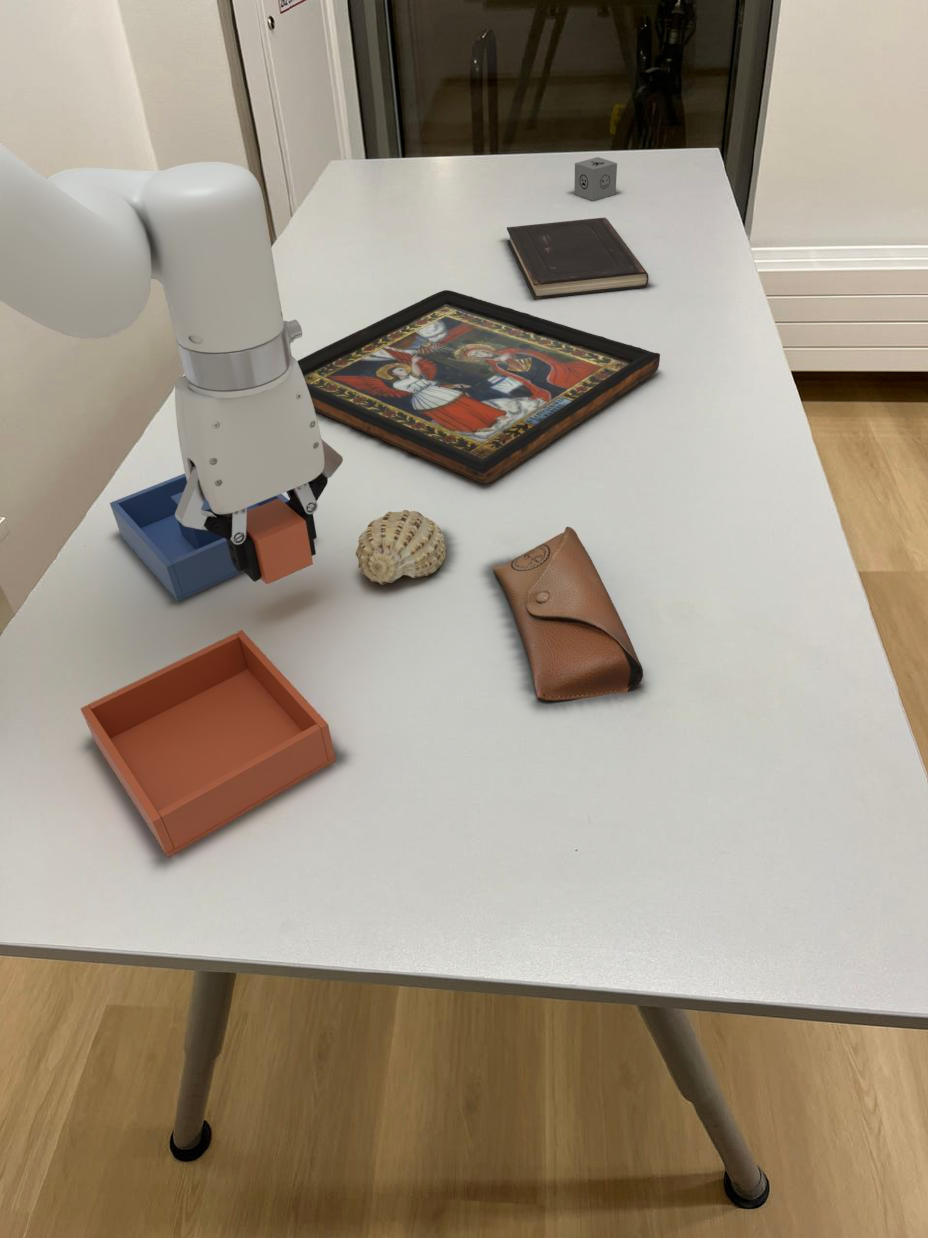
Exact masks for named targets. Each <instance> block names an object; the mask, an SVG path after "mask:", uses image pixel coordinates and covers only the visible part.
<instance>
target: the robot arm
mask: <svg viewBox="0 0 928 1238" xmlns="http://www.w3.org/2000/svg"><path fill="white" fill-rule="evenodd" d="M265 205H266V204H265V200H264V196H263V191H262V188H261V185H260V183H259V181H258V179H257V178H256V176H255V174H253V173H252V172H251V171H250V170H249V169H247V168H246V167H244V166H242V165H238V164H235V163H230V162H226V161H225V162H224V161H199V162H198V161H197V162H190V163H189V162H188V163H184V164H179V165H175V166H172V167H169V168H166V169H164V170H159V169H158V170H149V169H148V170H147V169H127V168H125V169H124V168H109V167H74V168H67V169H65V170H61V171H58V172H56V173H54V174H52V175H51V176H49V177H48V178H46V177H44V176H43V175H42V174H41V173H39V172H38V171H36V170H35V169H34V168H33V167H31V166H30V165H28V164H27V163H26V162H25V161H23V160H22V159H21V158H20V157H18V156H17V155H16V154H15V153H13V151H11V150H10V149H8V147H6V146H5V144H2V143H1V142H0V302H1V303H3V304H5V305H7V306H8V307H10V308H11V309H13V310H15V311H17V312H18V313H20V314H21V315H23V316H25V317H26V318H28V319H30V320H32V321H33V322H35V323H37V324H39V325H41V326H43V327H45V328H47V329H49V330H52V331H54V332H58V333H59V334H62V335H65V336H68V337H74V338H79V339H83V340H84V339H87V340H88V339H90V340H99V339H104V338H105V339H106V338H110V337H112V336H115V335H119V334H120V333H122V332H124V331H125V330H127V329H129V328H130V327H131V326H133V324H134V323H135V322H136V321H138V319H139V318H140V316H141V315H142V313H143V312H144V310H145V309H146V306H147V304H148V301H149V298H150V295H151V288H152V287H151V284H152V280H156V281H158V282H159V283H160V284H161V285H162V289H163V292H164V296H165V301H166V304H167V305H166V306H167V309H168V312H169V317H170V320H171V321H170V322H171V325H172V329H173V334H174V337H175V341H176V344H177V349H178V352H179V358H180V361H181V365H182V369H183V374H184V375H183V376H181V377H179V378H177V379H176V380H175V383H174V405H175V417H176V427H177V436H178V442H179V448H180V455H181V460H182V466H183V470H184V473H185V475H186V479H187V484H186V487H185V489H184V492H183V495H182V497H181V500H180V502H179V505H178V507H177V510H176V512H175V517H176V519H177V520H178V521H179V522H180V523H181V524H182V525H183V526H185V527H190V528H195V529H200V530H202V529H203V530H208V531H209V532H211V533H213V534H216V535H218V536H221V537H223V538H226V540H227V544H228V548H229V552H230V557H231V560H232V563H233V565H234V567H235V568H236V569H237V570H238V571H239V572H241V571H244V572H243V573H245V574H246V575H247V576H248V577H249V579H251V581H253V582H258V581H259V580H261V578H260V577H261V572H260V567H259V563H258V558H257V554H256V549H255V545H254V542H253V540H252V539H251V538H250V537H249V536H248V535H247V532H246V526H247V507H249V506H252V505H254V504H257V503H259V502H262V501H264V500H267V499H269V498H272V497H274V496H276V495H279V494H284V493H286V495H287V496H288V498H289V499H288V500H289V501H287V502H285V503H286V504H287V505H288V506H289V507H290V508H291V509H292V510H294V511H295V512H296V513H297V514H298V515H299V516H301V517H302V518H303V519H304V520H305V521H306V526H307V532H308V538H309V543H310V549H311V555H312V557H314V556H315V555H316V554H317V552H316V546H315V540H316V539H317V538H318V537H317V531H316V529H317V528H316V523H315V519H314V514H315V513H316V511H317V510H318V507H319V504H318V501H319V499H320V497H321V495H322V494H323V492H324V490H325V488H326V487H327V485H328V483H329V479H330V478H332V476H333V475H334V474H335V473H336V471H337V470H338V469H339V467H340V466H342V463H343V461H344V457H343V456H342V454H340V453H339V452H338V451H337V450H335V449H334V448H333V447H332V446H331V445H329V443H327V442H326V441H325V440H324V439H322V435H321V434H322V433H321V429H320V426H319V421H318V417H317V414H316V411H315V409H314V406H313V403H312V399H311V396H310V393H309V390H308V387H307V385H306V382H305V379H304V377H303V374H302V371H301V369H300V367H299V364H298V362H297V361H298V360H297V359H296V358H295V357H294V356H293V354H292V349H291V344H292V343H294V342H295V340H296V339H301V338H302V337H303V329H302V327H301V323H300V322H299V321H298V320H297V319H293V320H289V321H288V320H284V315H283V311H282V310H283V309H282V303H281V297H280V291H279V285H278V281H277V279H278V278H277V274H276V267H275V261H274V255H273V248H272V245H271V244H272V243H271V242H272V241H271V236H270V231H269V225H268V219H267V212H266V211H267V210H266V207H265ZM205 499H206V500H207V501H208V502H209V505H210V508H211V510H212V511H213V512H212V511H210V510H201V509H202V506H203V504H204V501H205Z"/></svg>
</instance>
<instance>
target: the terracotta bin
mask: <svg viewBox="0 0 928 1238" xmlns="http://www.w3.org/2000/svg"><path fill="white" fill-rule="evenodd" d="M80 712H81V714H82V716H83V719H84V720H85V723H86V725H87V727H88V729H89V731H90V733H91V735H92V737H93V740H94V743H95V745H96V746H97V747H98V749H99V751H100V752H101V754H102V756H103V757H104V759H105V761H106V762H107V764H108V765H109V767H110V768H111V770H112V772H113V773H114V775H115V776H116V778H117V779H118V781H119V782H120V784H121V786H122V787H123V789H124V790H125V792H126V794H127V795H128V797H129V798H130V800H131V801H132V803H133V805H134V806H135V808H136V810H137V811H138V812H139V814H140V816H141V817H142V819H143V821H144V822H145V824H146V825H147V827H148V828H149V830H150V832H151V833H152V835H153V837H154V838H155V839H156V841H157V843H158V844H159V846H160V848H161V849H162V851H163V853H164V854H165V855H166V857H167V858H170V857H172V856H174V855H175V854H177V853H179V852H181V851H182V850H184V849H186V848H187V847H189V846H191V845H192V844H194V843H196V842H198V841H200V840H201V839H203V838H205V837H207V836H208V835H210V834H212V833H213V832H215V831H217V830H219V829H220V828H222V827H224V826H226V825H227V824H229V823H231V822H232V821H234V820H236V819H238V818H240V817H241V816H243V815H244V814H246V813H248V812H249V811H252V810H253V809H255V808H257V807H258V806H260V805H262V804H263V803H266V802H267V801H269V800H270V799H272V798H274V797H275V796H277V795H279V794H280V793H282V792H284V791H286V790H288V789H290V788H291V787H293V786H295V785H297V784H298V783H300V782H301V781H303V780H305V779H307V778H308V777H310V776H312V775H313V774H315V773H317V772H319V771H321V770H322V769H324V768H326V767H327V766H329V765H331V764H333V763H335V762H336V761H337V759H336V754H335V750H334V745H333V740H332V736H331V731H330V727H329V724H328V722H327V721H326V720H325V719H324V718H323V717H322V716H321V714H320V713H318V711H317V710H316V709H315V708H314V707H313V706H312V705H311V704H310V703H309V701H308V700H306V698H305V697H304V696H303V694H301V692H299V691H298V689H297V688H295V686H294V685H293V684H292V683H291V682H290V681H289V679H287V678H286V676H285V675H284V674H283V673H282V672H281V671H280V670H279V668H278V667H276V666H275V664H274V663H273V662H272V661H271V659H269V658H268V657H267V656H266V654H265V653H264V652H263V651H262V650H261V649H260V648H259V647H258V646H257V644H255V642H253V640H252V639H251V638H250V637H249V636H248V635H247V634H246V633H245V631H244V630H242V629H241V630H239V631H237V632H235V633H233V634H231V635H229V636H227V637H224V638H222V639H221V640H219V641H216V642H214V643H211V644H210V645H208V646H206V647H204V648H202V649H200V650H198V651H196V652H194V653H192V654H190V655H187V656H185V657H183V658H181V659H179V660H177V661H175V662H173V663H171V664H169V665H166V666H165V667H162V668H160V669H158V670H157V671H154V672H152V673H151V674H149V675H146V676H144V677H142V678H140V679H137V680H136V681H134V682H132V683H130V684H127V685H125V686H124V687H122V688H119V689H117V690H115V691H112V692H110V693H109V694H107V695H105V696H103V697H101V698H98V699H96V700H94V701H92V702H91V703H88V704H87V705H84V706H82V707H81V708H80Z"/></svg>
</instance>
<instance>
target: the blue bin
mask: <svg viewBox="0 0 928 1238" xmlns="http://www.w3.org/2000/svg"><path fill="white" fill-rule="evenodd" d="M186 484H187V479H186V475H185V472H184V473H182V474H179V475H177V476H174V477H172V478H169V479H167V480H164V481H162V482H159V483H157V484H155V485H152V486H149V487H146V488H144V489H142V490H139V491H136V492H134V493H131V494H129V495H126V496H123V497H121V498H118V499H116V500H114V501H111V502H109V506H110V508H111V511H112V514H113V517H114V520H115V522H116V524H117V528H118V531H119V533H120V536H121V538H122V539H123V540H124V541H125V542H126V544H127V545H128V546H129V547H130V548H131V549H132V550H133V551H134V553H135V554H136V555H137V557H138V558H140V560H141V561H142V562H143V563H144V564H145V566H146V567H147V568H148V569H149V570H150V572H152V574H153V575H154V576H155V577H156V578H157V580H158V581H159V582H160V583H161V584H162V585H163V586H164V587H165V588H166V590H167V591H168V592H169V593H170V595H171V596H172V597H173V598H174V599H175V601H177V602H180V601H182V600H184V599H187V598H189V597H191V596H193V595H196V594H198V593H201V592H202V591H204V590H206V589H208V588H211V587H213V586H215V585H217V584H219V583H222V582H224V581H226V580H228V579H231V578H233V577H235V576H237V575H239V574H241V573H245V572H244V571H241V572H239V571H238V570H237V569H236V568H235V567H234V565H233V563H232V560H231V557H230V552H229V548H228V544H227V540H226V538H222V539H220V540H218V541H215V542H213V543H211V544H209V545H206V546H204V547H202V548H199V549H197V550H196V549H195V548H194V547H193V546H192V545H191V544H190V543H189V542H188V540H187V539H186V538H185V537H184V536H183V535H182V533H181V530H180V527H179V523H178V520H177V519H176V517H175V510H174V507H173V504H172V500H171V496H174V495H176V494H179V493H181V492H184V489H185V487H186ZM278 498H280V499H281V500H282V501H283V502H284V503H285V502H287V501H289V500H290V499H288V498H287V497H286V496H285V495H284V494H283V493H281V494H279V495H276V496H274V497H272V498H269V499H267V500H264V501H262V502H259V503H257V504H254V505H252V506H249V507H247V511H249V510H251V509H254V508H256V507H259V506H261V505H264V504H266V503H269V502H271V501H273V500H276V499H278Z"/></svg>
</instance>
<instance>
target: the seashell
mask: <svg viewBox="0 0 928 1238" xmlns="http://www.w3.org/2000/svg"><path fill="white" fill-rule="evenodd" d="M357 542H358V547H357V548H356V550H355V557H356V559H357V561H358V569H360V570H361V574H362V575H365V576H366V577H367V578H368V579H369V580H370V582H371V583H377V584H379V585H382V586H384V585H386V584H389V583H390V584H392V583H394V582H395V581H397V580H398V579H400V578H401V577H402V576H408V577H410V578H413V579H415V578H420V577H426V576H429V575H431V574H433V573H435V572H436V571H437V570H438V569H440V567H441V566H442V565H443V563H444V562H445V559H446V555H447V545H446V541H445V536H444V534H443V533H442V531H441V528H440V526H439V525H438V524H437V523H436V522H435V521H433V520H432V519H430V518H428V517H426V516H424V515H423V514H422V513H421V512H420V511H416V510H411V511H409V510H407V509H404V510H401V511H388V512H386V513H385V514H384V515H383V516H380V517H379V518H377V519H374V520H372V521H370V522H369V523H368V525H367V528H366V529H365V530H364V531H363V532H362V533H361V534H360V535H359V537H358V540H357Z"/></svg>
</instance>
